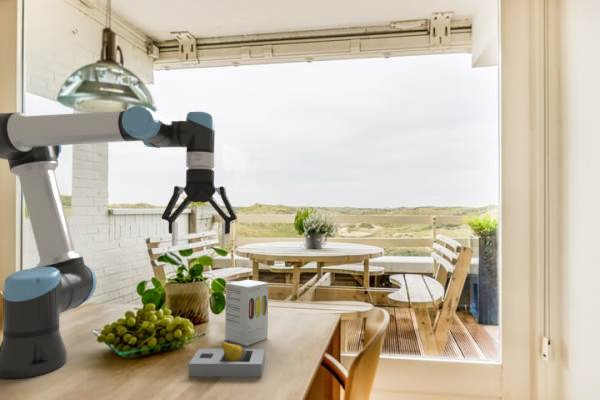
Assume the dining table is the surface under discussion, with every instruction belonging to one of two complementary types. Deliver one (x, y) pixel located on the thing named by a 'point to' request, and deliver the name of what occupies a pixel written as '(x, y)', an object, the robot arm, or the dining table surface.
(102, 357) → the dining table surface
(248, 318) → the supplement box
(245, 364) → the bit holder block
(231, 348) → the yellow grooved cone
